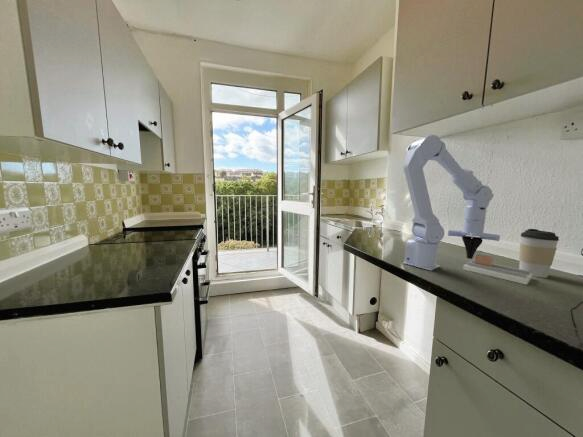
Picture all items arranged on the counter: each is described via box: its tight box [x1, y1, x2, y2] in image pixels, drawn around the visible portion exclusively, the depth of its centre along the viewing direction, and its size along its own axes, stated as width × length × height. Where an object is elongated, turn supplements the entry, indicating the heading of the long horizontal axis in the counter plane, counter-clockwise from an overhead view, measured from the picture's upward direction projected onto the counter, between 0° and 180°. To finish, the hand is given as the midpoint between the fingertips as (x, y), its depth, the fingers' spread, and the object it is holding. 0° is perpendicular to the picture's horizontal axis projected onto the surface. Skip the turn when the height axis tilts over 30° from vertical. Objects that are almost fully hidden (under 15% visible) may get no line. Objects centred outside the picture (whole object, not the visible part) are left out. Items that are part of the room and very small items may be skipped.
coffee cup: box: [518, 228, 560, 279], centre depth 80 cm, size 9×9×15 cm
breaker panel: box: [462, 258, 533, 286], centre depth 79 cm, size 16×9×2 cm, turn 39°
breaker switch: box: [474, 254, 494, 267], centre depth 82 cm, size 4×4×4 cm
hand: (469, 258), depth 85 cm, fingers closed
